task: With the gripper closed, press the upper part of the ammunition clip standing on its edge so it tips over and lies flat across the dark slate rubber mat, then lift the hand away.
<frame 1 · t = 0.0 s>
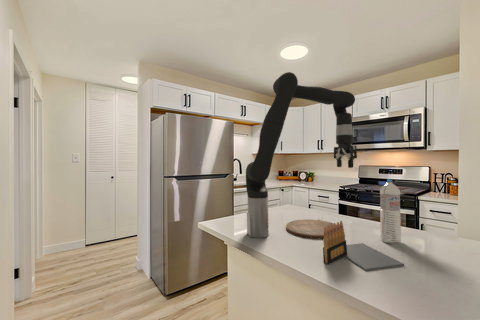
hand: (344, 167, 113), 29 cm above the counter, tool pointing down, fingers open, 8 cm apart
water bottle: (390, 242, 92), on the counter
ammunition clip: (335, 259, 77), on the counter, touching slate mat
slate mat: (363, 256, 79), on the counter
trivet: (312, 230, 109), on the counter
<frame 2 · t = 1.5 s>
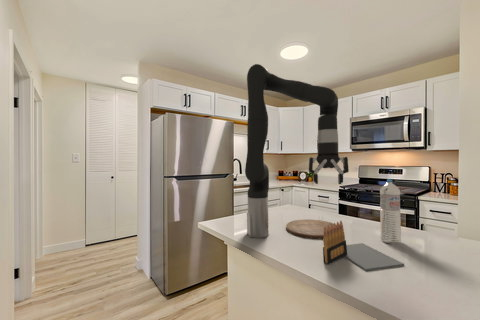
hand: (328, 183, 88), 24 cm above the counter, tool pointing down, fingers open, 8 cm apart
nothing on the counter moved.
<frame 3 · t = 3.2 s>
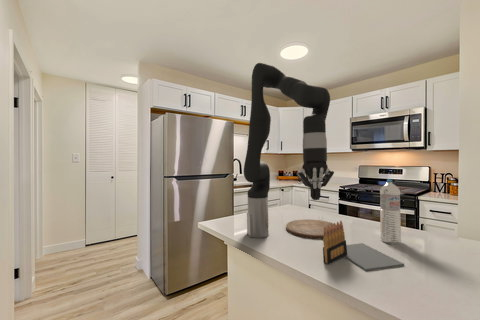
hand: (315, 199, 75), 21 cm above the counter, tool pointing down, fingers closed
nothing on the counter moved.
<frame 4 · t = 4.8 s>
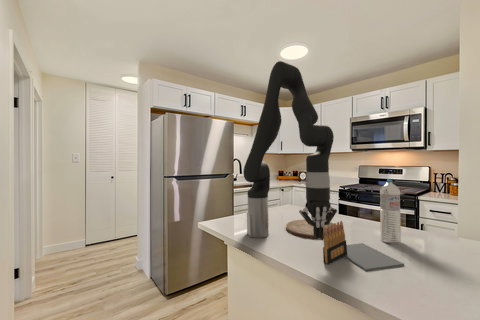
hand: (318, 237, 76), 8 cm above the counter, tool pointing down, fingers closed
nothing on the counter moved.
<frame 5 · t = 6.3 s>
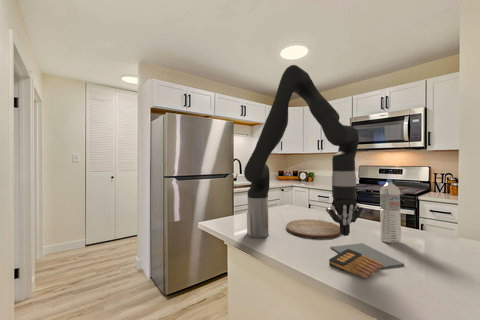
hand: (344, 235, 78), 8 cm above the counter, tool pointing down, fingers closed
ammunition clip: (338, 256, 76), point 1 cm above the counter, touching slate mat
everything else where it was.
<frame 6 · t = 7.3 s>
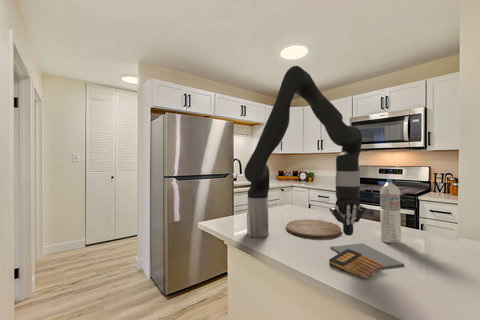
hand: (348, 234, 78), 8 cm above the counter, tool pointing down, fingers closed
nothing on the counter moved.
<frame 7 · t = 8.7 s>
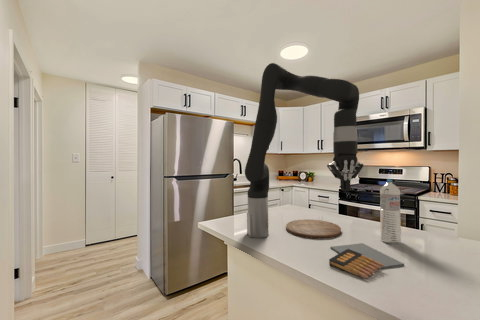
hand: (345, 191, 78), 23 cm above the counter, tool pointing down, fingers closed
nothing on the counter moved.
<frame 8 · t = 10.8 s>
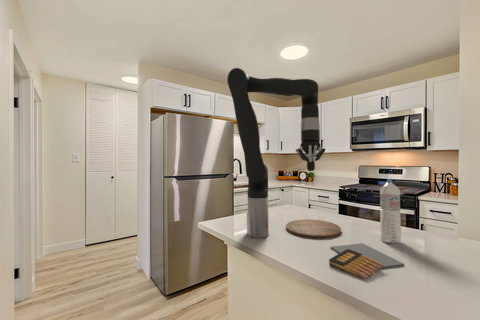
hand: (310, 170, 96), 29 cm above the counter, tool pointing down, fingers closed
nothing on the counter moved.
at the end: ammunition clip tilted 91°; ammunition clip touching slate mat, counter; ammunition clip moved 1.8 cm from its start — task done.
